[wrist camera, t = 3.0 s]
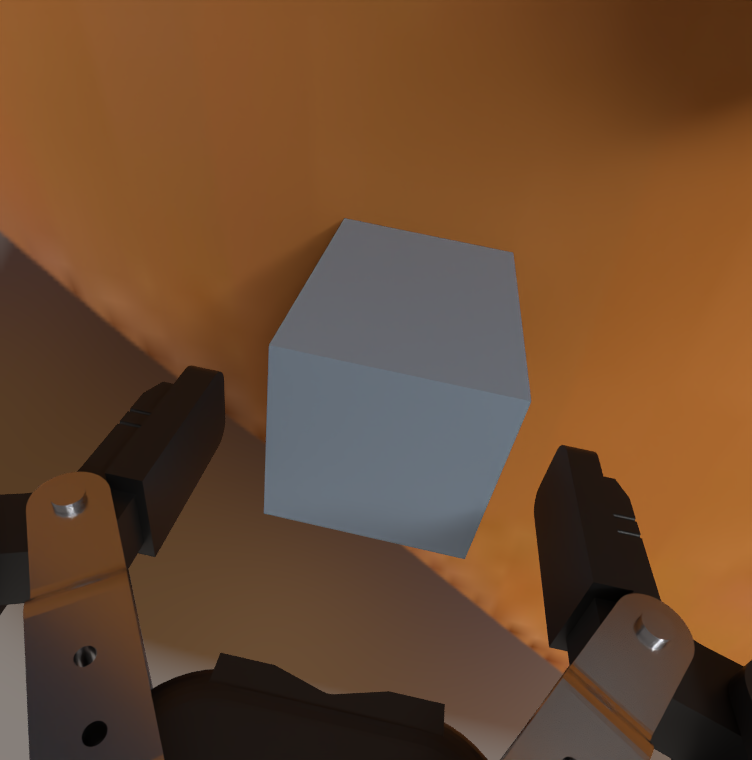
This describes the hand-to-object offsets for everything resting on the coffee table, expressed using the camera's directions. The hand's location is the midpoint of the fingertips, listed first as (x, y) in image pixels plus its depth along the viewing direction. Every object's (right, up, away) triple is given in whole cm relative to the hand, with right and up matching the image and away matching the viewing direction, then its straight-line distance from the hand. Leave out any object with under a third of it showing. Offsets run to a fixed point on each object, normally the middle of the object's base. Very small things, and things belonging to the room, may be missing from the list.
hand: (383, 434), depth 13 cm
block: (+1, +4, +4) cm, 6 cm away
